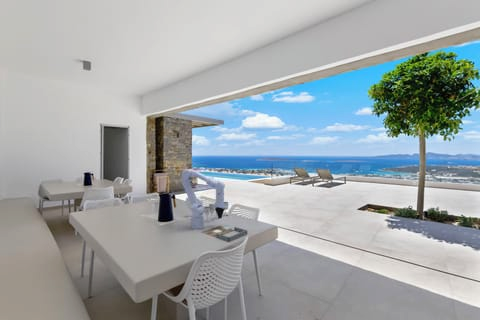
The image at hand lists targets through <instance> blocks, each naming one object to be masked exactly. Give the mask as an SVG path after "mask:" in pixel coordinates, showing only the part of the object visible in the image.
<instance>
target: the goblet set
mask: <svg viewBox="0 0 480 320" xmlns="http://www.w3.org/2000/svg"><path fill="white" fill-rule="evenodd" d="M212 204H213V203H209V204H208V206H203V207H204V209H205V211H204V214H205V216H206V218H208V215H209V214H211V215H213V214H214V211H215V214H216V217H215V218H214V219H209V221H208V220H206V221H203V224H205V223H206V224H208V223H210V222H215V220H216V219H217V220H219V218H218V215H217V212H216V210H215V209H216V207H212ZM214 204H216V202H214ZM224 205H225V206H227V207H228V208H229V202H228V201H224ZM226 211H227V210H224V213H226ZM224 215H225V216H226V215H227V214H224Z"/></svg>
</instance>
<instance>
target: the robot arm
mask: <svg viewBox="0 0 480 320" xmlns="http://www.w3.org/2000/svg"><path fill="white" fill-rule="evenodd" d="M193 178H197V179H199V180H202V181H203V182H205V183H206V185H208V186H210V187H211V188H213V189H214V190H215V203H216V204H215V203H211V204H212V207H216V209H215V210H214V211H215V213H216V212H217V218H219V219H223V218H222V217H223V213H225V210H226V211H227V210H229V206H228V207H227V206H225V205H224V202H225V185H226V184H225V183H224V182H223V181H220V180H217V179H215V178H214V177H213V176H212V177H211V176H209V177H208V176H206V175H205V174H203V173H201V172H199V171H198V170H195V169H193V168H188V169H184V170H182V172H181V184H182V187H183V189H184V191H185V193H186V195H187V196H186V197H187V198H189V200H190V202H191V205H192V207H191V209H192V212H191V214H192V216H190V217H191V219H190V226H189V229H192V230H195V229H198V230H199V229H203V228H204V214H205V212H204V211H205V209H204V207H205V206H203V204H202V205H201V203H199V202H198V200H197V197H198V196H197V195H196V194H195V191H194V189H193V187H192V184H191V180H192V179H193ZM219 219H218V220H219Z"/></svg>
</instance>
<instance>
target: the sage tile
mask: <svg viewBox="0 0 480 320" xmlns="http://www.w3.org/2000/svg"><path fill="white" fill-rule="evenodd" d="M222 227H223V228H222V231H225V232H229V231H231V229H232V227H230V226H222Z"/></svg>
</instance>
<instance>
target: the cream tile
mask: <svg viewBox="0 0 480 320" xmlns="http://www.w3.org/2000/svg"><path fill="white" fill-rule="evenodd" d="M217 233H218V234H222V231H221V230H215V231H213V234H214V235H216V234H217Z"/></svg>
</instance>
